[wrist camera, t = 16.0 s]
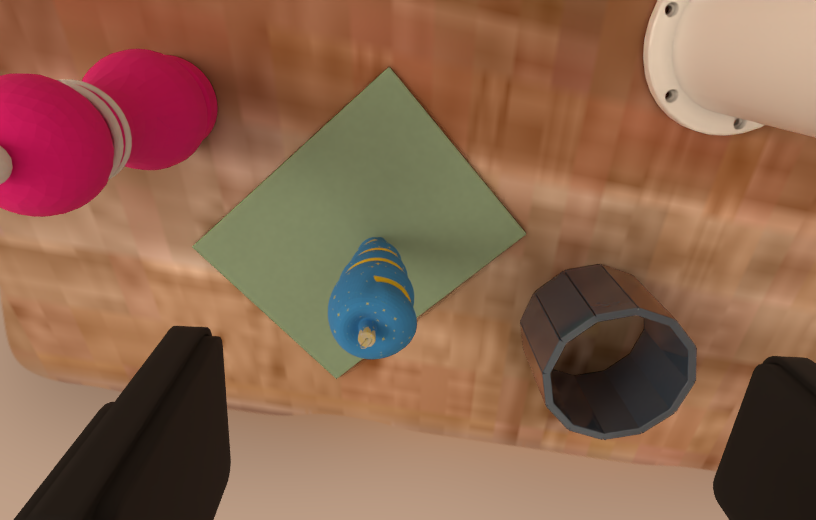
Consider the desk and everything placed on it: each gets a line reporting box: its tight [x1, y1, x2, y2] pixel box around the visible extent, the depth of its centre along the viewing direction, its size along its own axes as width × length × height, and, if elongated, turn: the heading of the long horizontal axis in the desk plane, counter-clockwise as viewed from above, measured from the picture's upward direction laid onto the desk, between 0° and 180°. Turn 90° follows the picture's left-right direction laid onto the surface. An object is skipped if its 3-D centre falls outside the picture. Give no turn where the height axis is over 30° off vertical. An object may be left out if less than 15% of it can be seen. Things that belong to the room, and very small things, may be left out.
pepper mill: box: [0, 49, 217, 217], centre depth 29 cm, size 7×7×20 cm
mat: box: [193, 67, 526, 379], centre depth 42 cm, size 20×16×1 cm
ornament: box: [328, 237, 417, 359], centre depth 35 cm, size 5×5×15 cm
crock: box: [520, 264, 697, 440], centre depth 43 cm, size 11×11×8 cm
